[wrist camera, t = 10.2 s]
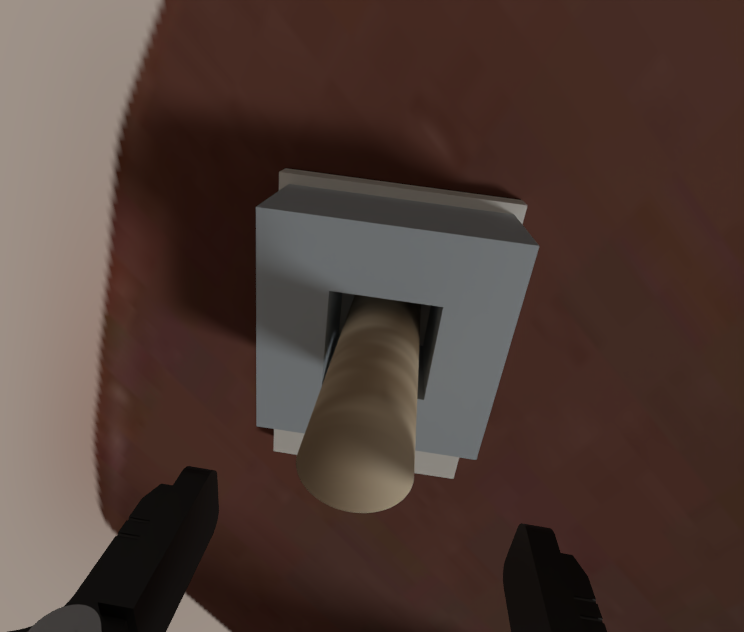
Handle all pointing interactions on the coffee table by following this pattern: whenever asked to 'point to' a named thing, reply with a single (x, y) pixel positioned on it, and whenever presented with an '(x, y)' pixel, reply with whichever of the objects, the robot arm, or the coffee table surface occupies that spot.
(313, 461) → the peg
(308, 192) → the socket
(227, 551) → the coffee table surface
